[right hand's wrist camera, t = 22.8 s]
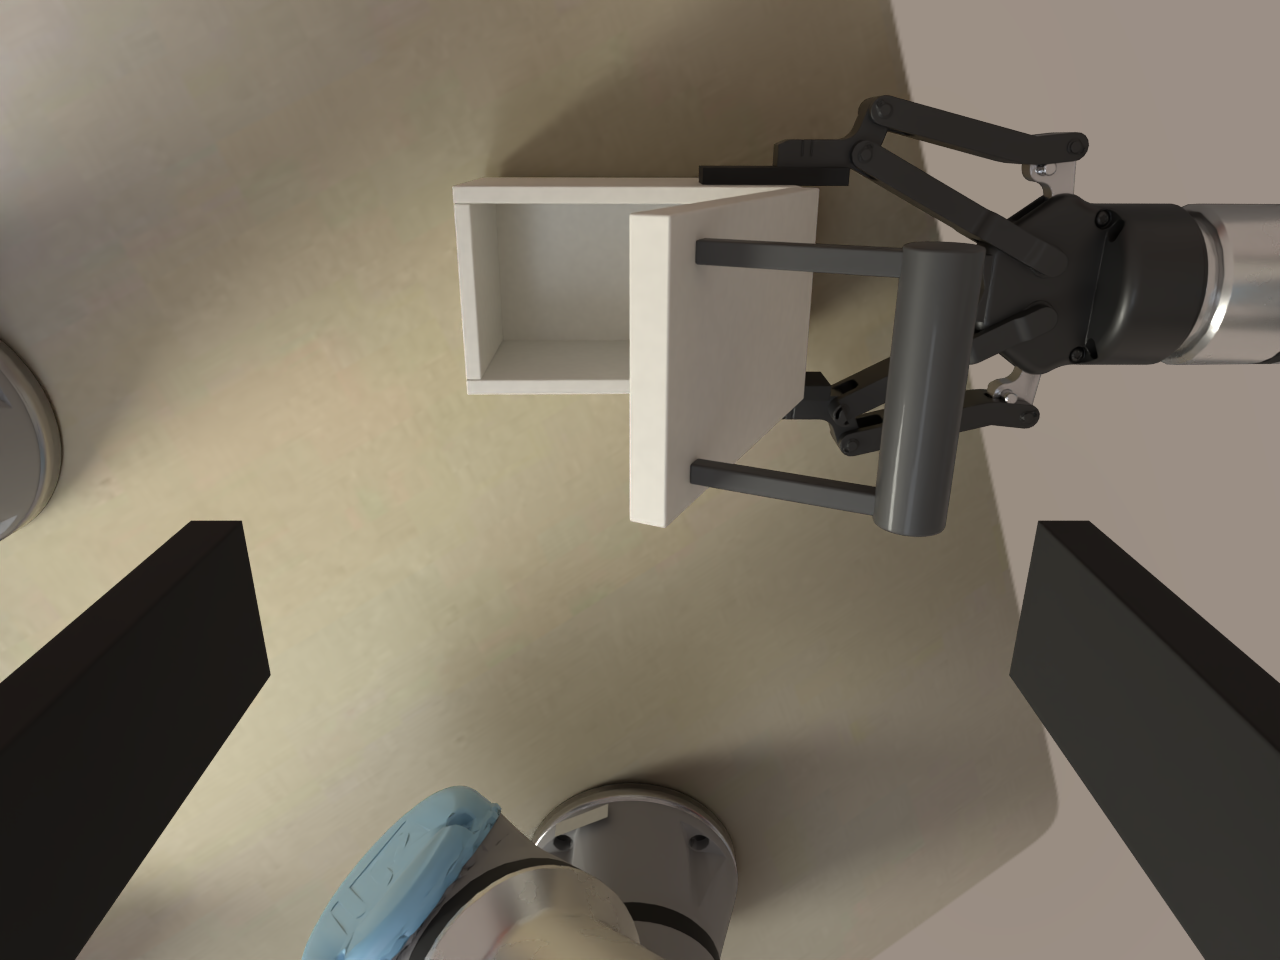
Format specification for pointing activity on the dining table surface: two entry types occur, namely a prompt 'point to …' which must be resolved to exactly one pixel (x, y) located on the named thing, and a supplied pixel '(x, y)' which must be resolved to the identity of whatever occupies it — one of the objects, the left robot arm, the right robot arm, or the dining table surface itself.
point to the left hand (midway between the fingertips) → (698, 285)
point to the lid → (784, 357)
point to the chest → (555, 277)
